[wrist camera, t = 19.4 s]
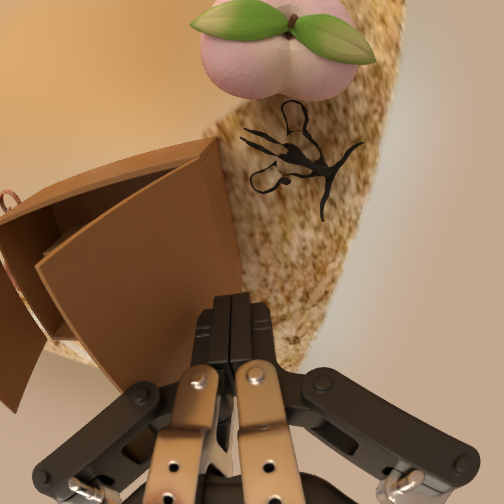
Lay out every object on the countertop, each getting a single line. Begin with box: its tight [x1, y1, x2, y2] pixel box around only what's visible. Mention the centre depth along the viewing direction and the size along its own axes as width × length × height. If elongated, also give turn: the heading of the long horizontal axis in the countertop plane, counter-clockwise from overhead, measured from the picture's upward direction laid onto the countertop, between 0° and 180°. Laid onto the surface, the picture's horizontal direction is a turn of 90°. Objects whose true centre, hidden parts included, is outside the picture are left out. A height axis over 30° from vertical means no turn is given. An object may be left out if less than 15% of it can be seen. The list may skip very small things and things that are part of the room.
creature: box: [240, 100, 364, 222], centre depth 18 cm, size 8×5×8 cm
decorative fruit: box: [190, 0, 376, 102], centre depth 12 cm, size 9×8×10 cm
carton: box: [0, 137, 242, 414], centre depth 16 cm, size 19×12×17 cm, turn 99°
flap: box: [35, 158, 231, 394], centre depth 11 cm, size 9×12×1 cm
